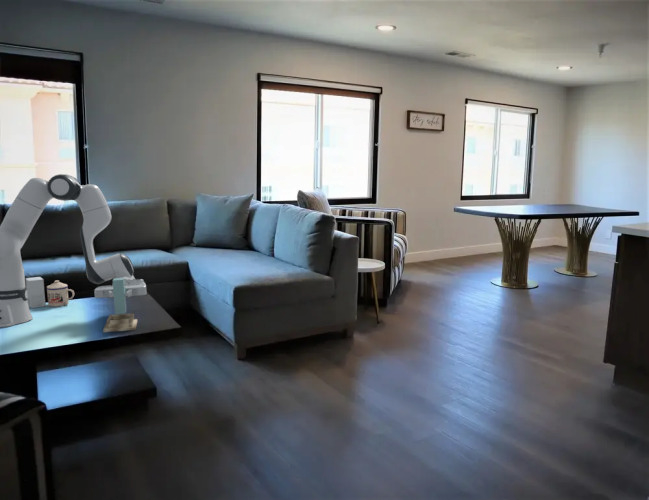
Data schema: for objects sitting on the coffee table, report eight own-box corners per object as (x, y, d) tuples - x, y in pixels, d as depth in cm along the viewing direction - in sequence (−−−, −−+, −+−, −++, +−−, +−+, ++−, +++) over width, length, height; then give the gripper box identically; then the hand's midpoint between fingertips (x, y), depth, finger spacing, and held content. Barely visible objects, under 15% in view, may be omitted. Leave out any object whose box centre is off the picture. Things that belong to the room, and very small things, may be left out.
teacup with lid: (44, 307, 238) (42, 282, 236) (52, 302, 247) (50, 278, 245) (71, 306, 239) (69, 282, 238) (78, 301, 248) (76, 278, 247)
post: (114, 314, 206) (112, 280, 203) (116, 311, 209) (113, 278, 207) (125, 313, 207) (123, 279, 205) (126, 310, 211) (124, 277, 208)
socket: (103, 332, 202) (102, 322, 201) (107, 323, 213) (106, 314, 212) (135, 329, 205) (134, 320, 204) (137, 321, 216) (137, 312, 216)
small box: (46, 306, 240) (43, 279, 238) (30, 308, 236) (28, 281, 234) (42, 302, 246) (40, 276, 244) (27, 304, 242) (25, 278, 240)
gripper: (96, 282, 216) (90, 289, 203) (146, 279, 221) (145, 285, 208) (97, 296, 217) (92, 304, 204) (147, 293, 222) (145, 300, 209)
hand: (119, 295), depth 206 cm, fingers closed on post, 4 cm apart
